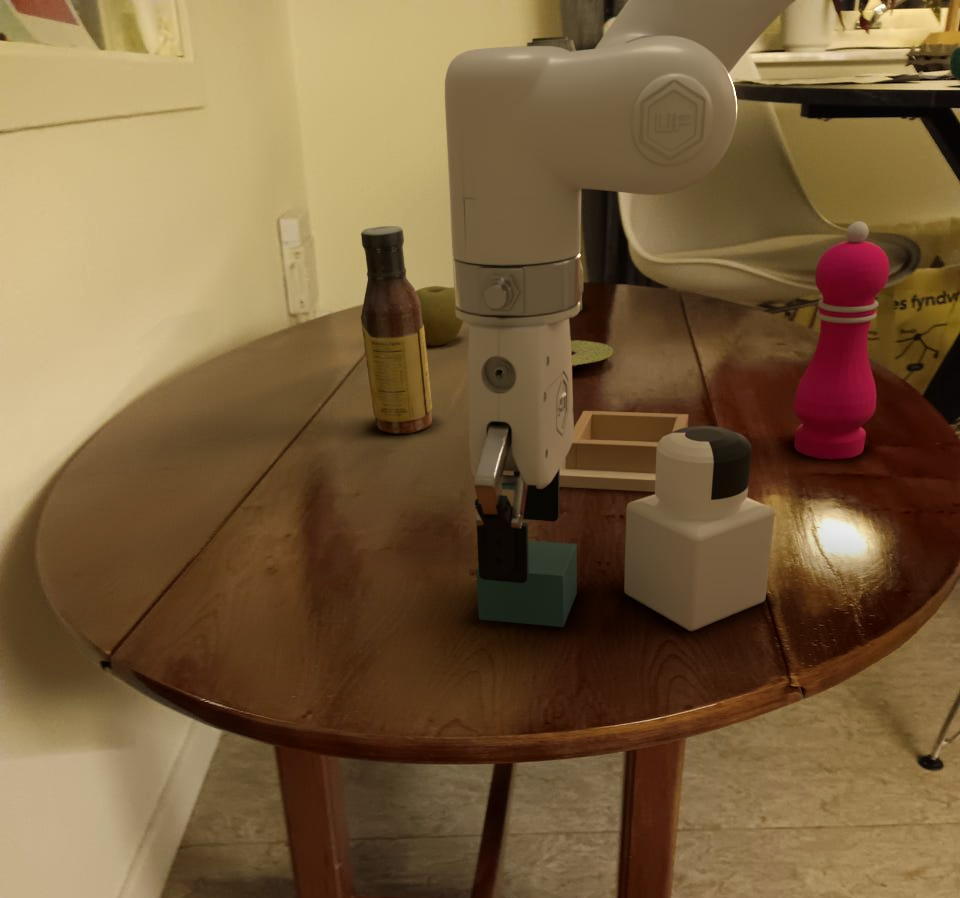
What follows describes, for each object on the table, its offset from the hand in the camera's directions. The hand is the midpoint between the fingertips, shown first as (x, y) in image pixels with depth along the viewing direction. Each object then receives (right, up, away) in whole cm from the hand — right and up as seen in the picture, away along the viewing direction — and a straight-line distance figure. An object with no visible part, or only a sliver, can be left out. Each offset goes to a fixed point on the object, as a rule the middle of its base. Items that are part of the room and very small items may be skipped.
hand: (521, 547), depth 68 cm
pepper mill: (+30, +12, +26) cm, 41 cm away
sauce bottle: (-11, +16, +38) cm, 42 cm away
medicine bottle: (+12, -4, +2) cm, 13 cm away
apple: (-9, +34, +67) cm, 76 cm away
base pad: (+11, +10, +25) cm, 29 cm away
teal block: (+1, -4, +2) cm, 5 cm away
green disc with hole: (+8, +27, +54) cm, 61 cm away
